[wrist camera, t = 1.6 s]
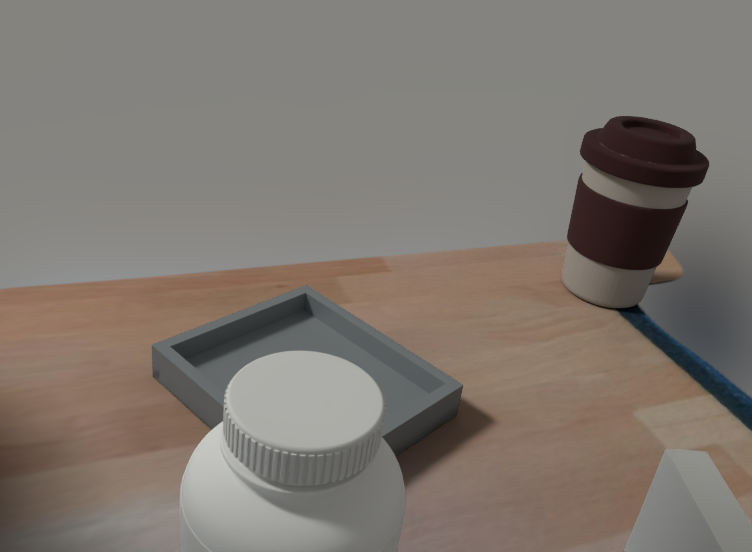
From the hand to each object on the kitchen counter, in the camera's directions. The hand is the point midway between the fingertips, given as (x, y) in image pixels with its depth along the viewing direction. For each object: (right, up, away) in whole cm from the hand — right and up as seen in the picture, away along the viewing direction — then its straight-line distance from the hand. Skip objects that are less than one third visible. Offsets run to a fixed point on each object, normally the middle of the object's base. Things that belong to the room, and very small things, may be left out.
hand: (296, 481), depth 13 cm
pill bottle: (-3, -13, +18) cm, 23 cm away
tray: (-3, -4, +34) cm, 34 cm away
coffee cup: (+22, +2, +52) cm, 56 cm away
